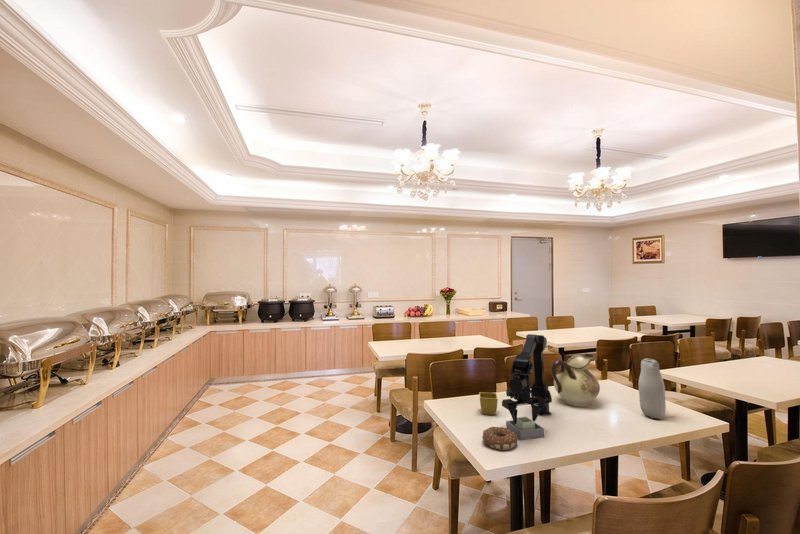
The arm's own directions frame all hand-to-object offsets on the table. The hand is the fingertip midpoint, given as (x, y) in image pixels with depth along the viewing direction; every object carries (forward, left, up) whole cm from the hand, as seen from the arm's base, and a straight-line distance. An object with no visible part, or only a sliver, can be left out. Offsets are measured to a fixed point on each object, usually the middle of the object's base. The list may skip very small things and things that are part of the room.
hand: (524, 422), depth 150 cm
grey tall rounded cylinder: (-70, +1, -5) cm, 70 cm away
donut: (+16, +6, -5) cm, 18 cm away
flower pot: (+4, -25, -5) cm, 26 cm away
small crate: (0, 0, -4) cm, 4 cm away
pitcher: (-49, -25, -5) cm, 55 cm away
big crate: (0, 0, -4) cm, 4 cm away
